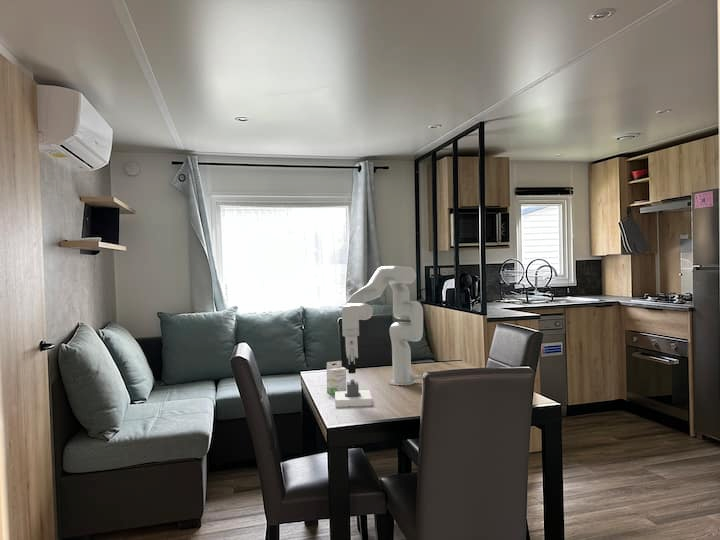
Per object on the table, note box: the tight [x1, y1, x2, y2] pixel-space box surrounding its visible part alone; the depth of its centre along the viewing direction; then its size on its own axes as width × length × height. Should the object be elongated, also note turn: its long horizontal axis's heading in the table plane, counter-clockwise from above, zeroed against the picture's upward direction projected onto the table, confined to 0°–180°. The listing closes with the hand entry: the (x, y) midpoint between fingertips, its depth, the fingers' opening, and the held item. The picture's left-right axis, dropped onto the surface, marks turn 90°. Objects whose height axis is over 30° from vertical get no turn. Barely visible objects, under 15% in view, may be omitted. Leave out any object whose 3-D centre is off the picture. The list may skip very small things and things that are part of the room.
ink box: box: [326, 360, 347, 395], centre depth 249 cm, size 9×5×15 cm, turn 118°
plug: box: [346, 378, 360, 397], centre depth 230 cm, size 5×5×10 cm
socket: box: [334, 389, 373, 408], centre depth 230 cm, size 16×16×3 cm
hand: (352, 372), depth 230 cm, fingers closed
